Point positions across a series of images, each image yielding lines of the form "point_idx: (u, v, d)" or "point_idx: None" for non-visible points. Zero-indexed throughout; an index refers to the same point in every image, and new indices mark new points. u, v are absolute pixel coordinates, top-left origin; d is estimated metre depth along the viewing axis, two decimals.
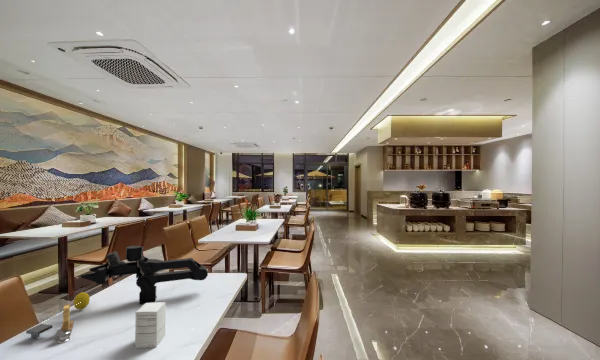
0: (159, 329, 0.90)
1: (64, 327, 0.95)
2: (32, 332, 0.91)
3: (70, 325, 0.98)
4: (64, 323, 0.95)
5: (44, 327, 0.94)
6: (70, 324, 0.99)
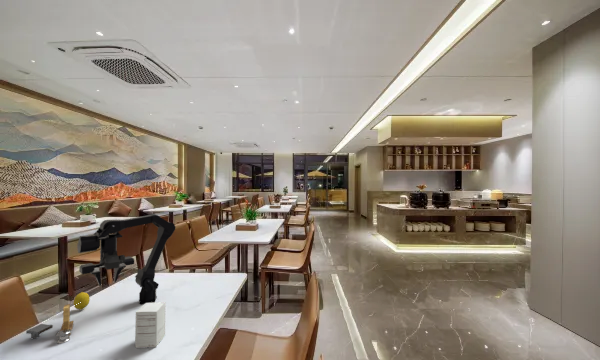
0: (159, 329, 0.90)
1: (64, 327, 0.95)
2: (32, 332, 0.91)
3: (70, 325, 0.98)
4: (64, 323, 0.95)
5: (44, 327, 0.94)
6: (70, 324, 0.99)
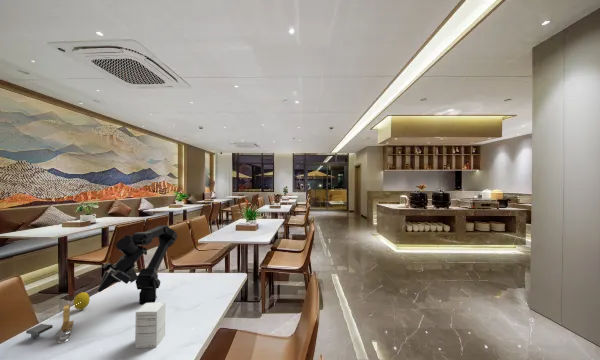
0: (159, 329, 0.90)
1: (64, 327, 0.95)
2: (32, 332, 0.91)
3: (70, 325, 0.98)
4: (64, 323, 0.95)
5: (44, 327, 0.94)
6: (70, 324, 0.99)
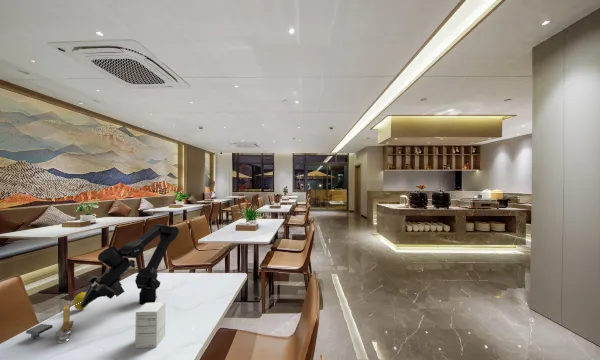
0: (159, 329, 0.90)
1: (64, 327, 0.95)
2: (32, 332, 0.91)
3: (70, 325, 0.98)
4: (64, 323, 0.95)
5: (44, 327, 0.94)
6: (70, 324, 0.99)
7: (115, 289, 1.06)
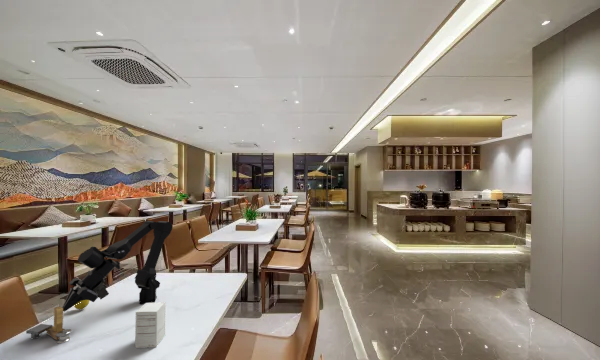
0: (159, 329, 0.90)
1: (59, 329, 0.94)
2: (32, 332, 0.91)
3: None
4: (59, 325, 0.94)
5: (44, 327, 0.94)
6: None
7: (99, 292, 1.02)
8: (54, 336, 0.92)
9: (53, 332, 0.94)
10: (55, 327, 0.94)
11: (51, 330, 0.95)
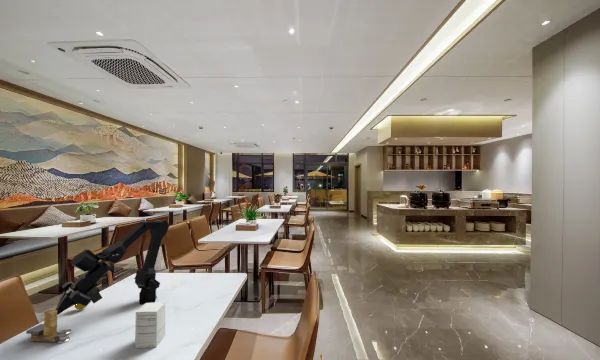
0: (159, 329, 0.90)
1: (53, 331, 0.92)
2: (32, 332, 0.91)
3: None
4: (54, 327, 0.92)
5: None
6: None
7: (92, 295, 1.00)
8: (50, 339, 0.91)
9: (46, 336, 0.91)
10: (48, 331, 0.92)
11: (40, 336, 0.91)
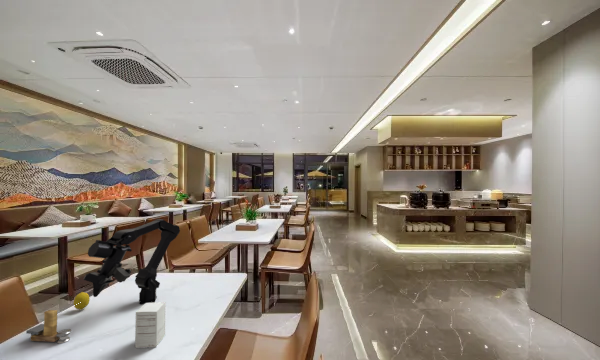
0: (159, 329, 0.90)
1: (53, 331, 0.92)
2: (32, 332, 0.91)
3: None
4: (54, 327, 0.92)
5: None
6: None
7: (114, 275, 1.07)
8: (50, 339, 0.91)
9: (46, 336, 0.91)
10: (48, 331, 0.92)
11: (40, 336, 0.91)
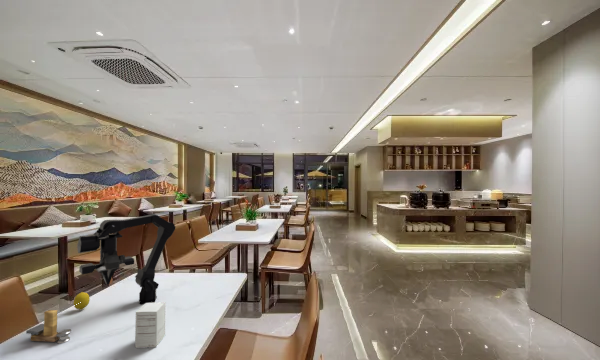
0: (159, 329, 0.90)
1: (53, 331, 0.92)
2: (32, 332, 0.91)
3: None
4: (54, 327, 0.92)
5: None
6: None
7: (104, 263, 1.07)
8: (50, 339, 0.91)
9: (46, 336, 0.91)
10: (48, 331, 0.92)
11: (40, 336, 0.91)
